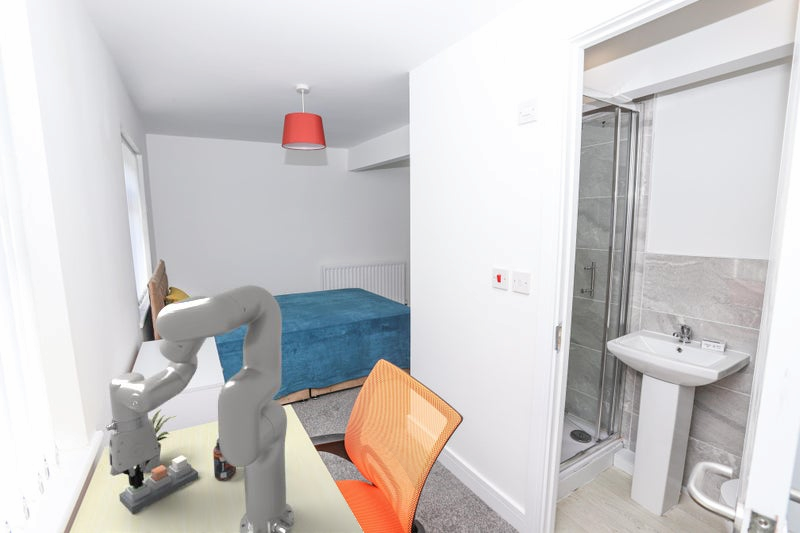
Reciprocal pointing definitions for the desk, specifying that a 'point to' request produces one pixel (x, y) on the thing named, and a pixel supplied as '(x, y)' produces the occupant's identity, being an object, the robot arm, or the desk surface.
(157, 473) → the button
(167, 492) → the panel
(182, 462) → the button
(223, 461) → the supplement bottle
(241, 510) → the desk surface
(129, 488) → the button
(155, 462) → the house plant
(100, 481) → the desk surface
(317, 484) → the desk surface
